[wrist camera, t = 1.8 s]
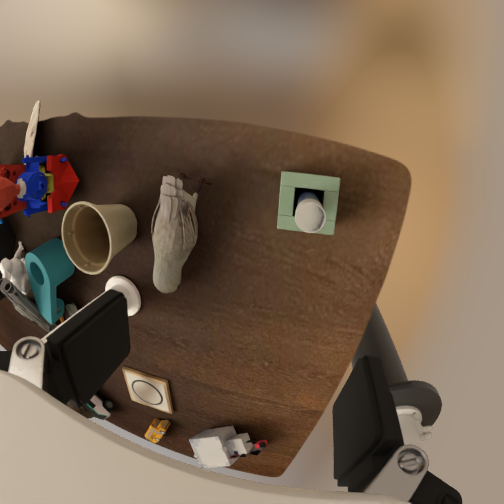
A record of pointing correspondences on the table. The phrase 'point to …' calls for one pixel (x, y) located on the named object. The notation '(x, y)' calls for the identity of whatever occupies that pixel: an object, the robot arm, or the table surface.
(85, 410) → the concrete sample
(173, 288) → the decorative bird
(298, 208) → the marker
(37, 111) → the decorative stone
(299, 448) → the table surface
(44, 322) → the toy gun
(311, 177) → the pen stand
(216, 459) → the toy
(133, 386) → the framed picture
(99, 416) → the toy car
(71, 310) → the stone
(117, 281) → the candle
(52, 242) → the teal mechanical bracket
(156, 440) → the toy bus
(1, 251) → the box
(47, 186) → the toy train
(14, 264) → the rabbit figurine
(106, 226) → the flower pot
